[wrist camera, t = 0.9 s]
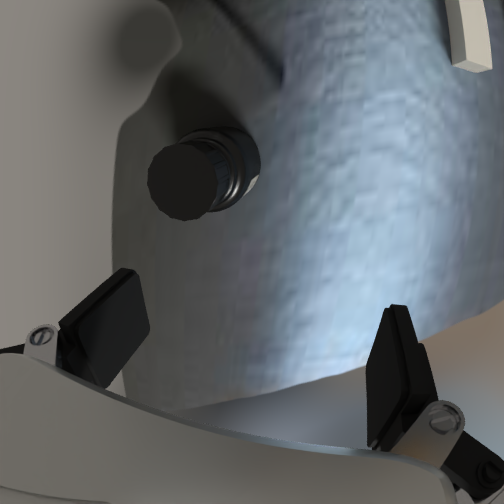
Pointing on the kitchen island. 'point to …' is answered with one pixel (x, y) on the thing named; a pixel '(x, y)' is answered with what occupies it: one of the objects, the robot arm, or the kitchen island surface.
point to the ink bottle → (203, 172)
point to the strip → (469, 35)
